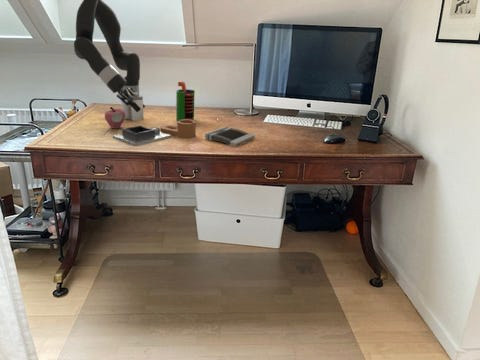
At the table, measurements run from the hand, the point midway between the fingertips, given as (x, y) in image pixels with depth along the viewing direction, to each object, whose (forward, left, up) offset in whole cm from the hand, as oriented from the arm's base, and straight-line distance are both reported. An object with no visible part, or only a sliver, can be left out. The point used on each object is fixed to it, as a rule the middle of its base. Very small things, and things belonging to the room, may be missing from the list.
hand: (141, 109), depth 168 cm
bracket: (-17, +4, -14) cm, 22 cm away
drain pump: (+1, -2, -5) cm, 5 cm away
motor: (-36, -13, -13) cm, 40 cm away
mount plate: (-1, -2, -13) cm, 13 cm away
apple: (-1, -23, -13) cm, 26 cm away
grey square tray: (-30, +25, -14) cm, 42 cm away
